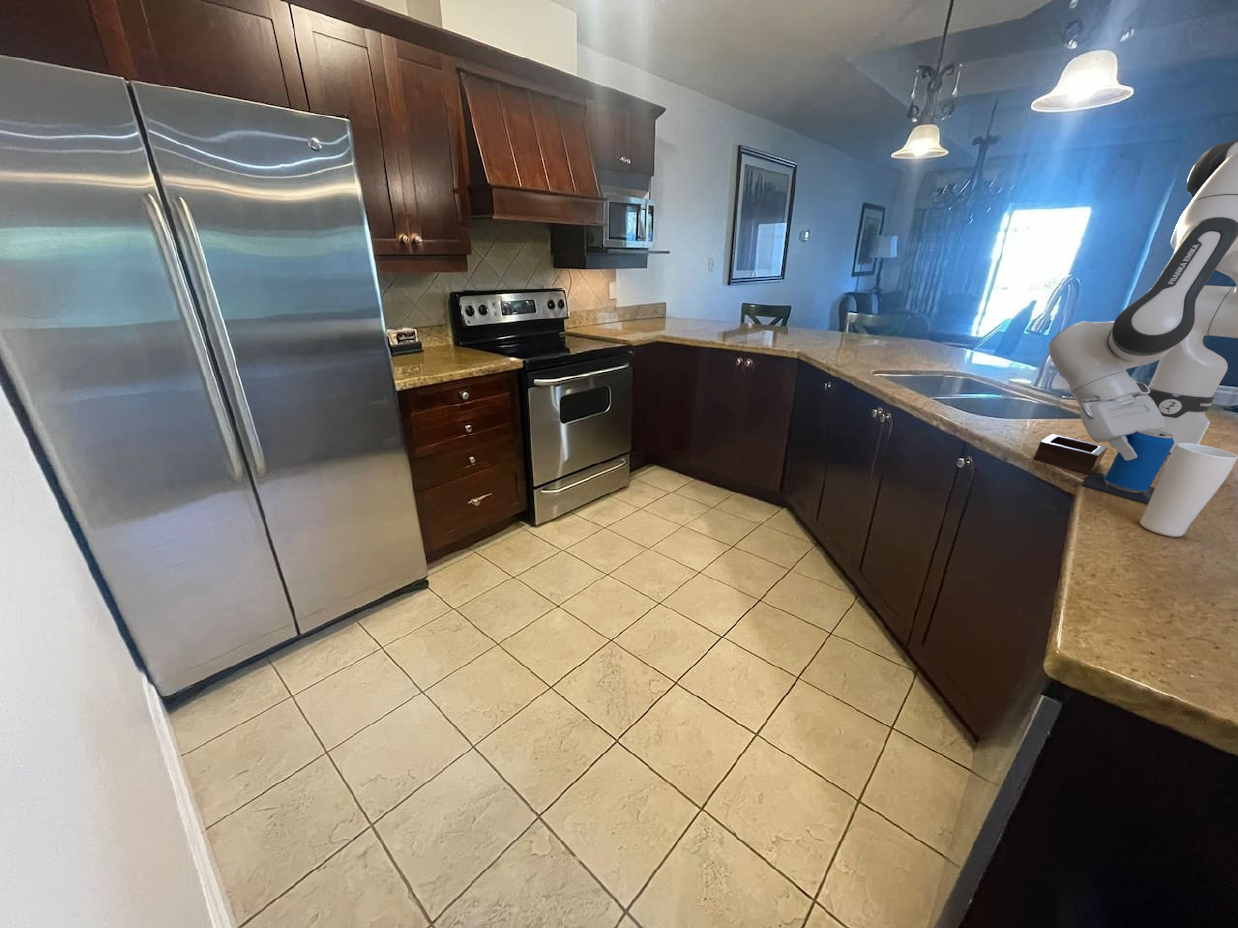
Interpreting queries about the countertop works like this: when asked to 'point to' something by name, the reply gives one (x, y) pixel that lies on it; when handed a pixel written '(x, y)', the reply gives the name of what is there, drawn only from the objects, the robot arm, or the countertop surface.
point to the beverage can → (1140, 461)
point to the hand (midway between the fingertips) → (1145, 456)
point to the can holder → (1070, 453)
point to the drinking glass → (1186, 487)
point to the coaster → (1101, 484)
